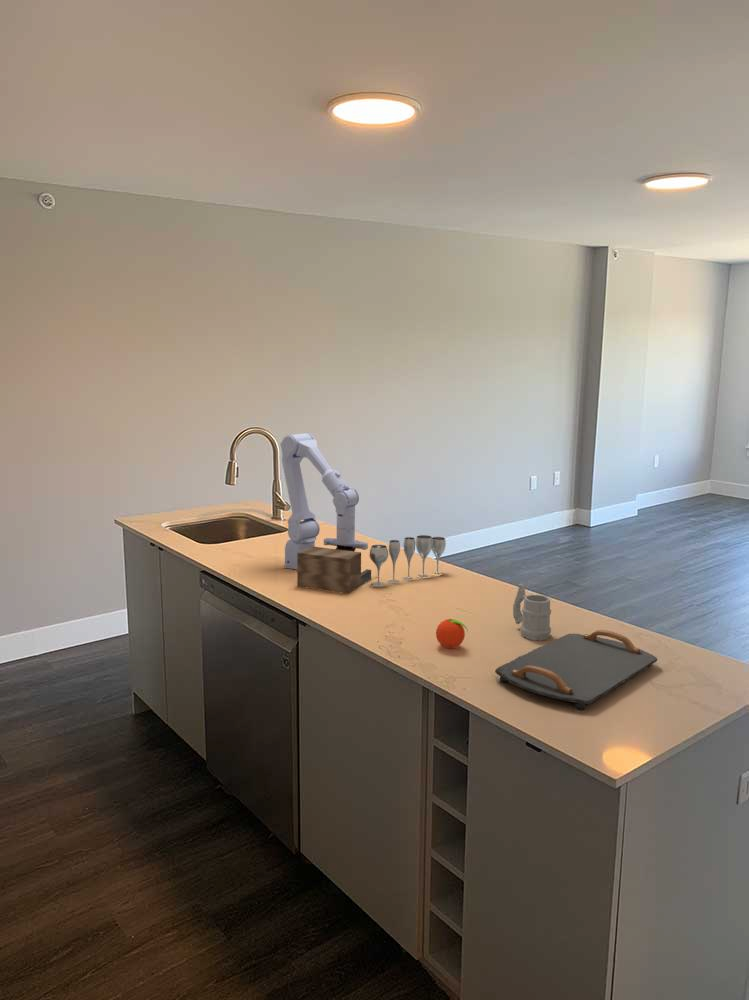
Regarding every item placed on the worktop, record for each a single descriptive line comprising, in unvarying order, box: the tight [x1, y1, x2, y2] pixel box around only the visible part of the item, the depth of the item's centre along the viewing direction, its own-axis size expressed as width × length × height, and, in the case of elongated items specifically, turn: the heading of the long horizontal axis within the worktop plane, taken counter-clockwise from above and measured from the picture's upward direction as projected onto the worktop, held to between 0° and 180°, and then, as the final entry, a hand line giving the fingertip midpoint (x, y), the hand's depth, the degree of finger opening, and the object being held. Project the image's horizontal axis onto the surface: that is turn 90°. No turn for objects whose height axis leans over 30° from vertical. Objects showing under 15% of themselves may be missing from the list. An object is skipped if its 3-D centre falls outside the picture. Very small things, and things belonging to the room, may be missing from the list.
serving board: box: [494, 629, 658, 711], centre depth 171 cm, size 39×23×6 cm, turn 136°
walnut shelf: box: [296, 546, 372, 595], centre depth 236 cm, size 17×17×10 cm
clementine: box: [435, 618, 469, 649], centre depth 185 cm, size 8×7×7 cm
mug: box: [512, 583, 552, 642], centre depth 195 cm, size 8×12×12 cm, turn 33°
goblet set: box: [368, 534, 447, 587], centre depth 241 cm, size 28×6×13 cm, turn 123°
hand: (345, 569), depth 243 cm, fingers closed
